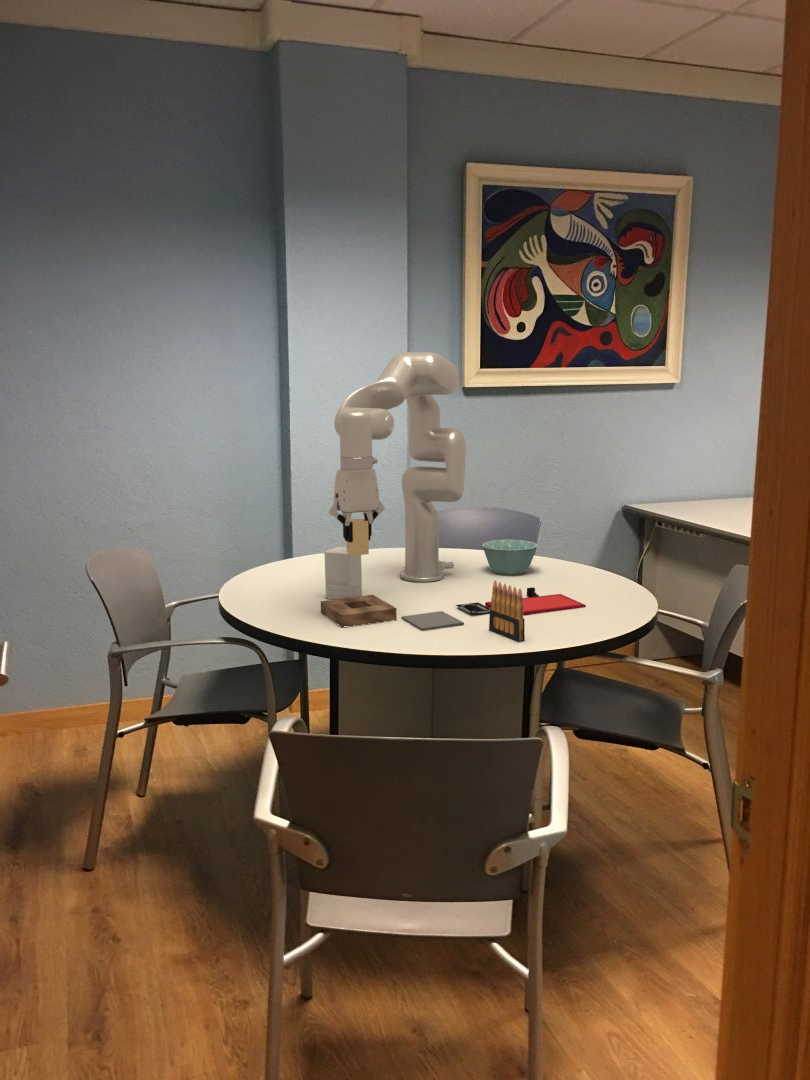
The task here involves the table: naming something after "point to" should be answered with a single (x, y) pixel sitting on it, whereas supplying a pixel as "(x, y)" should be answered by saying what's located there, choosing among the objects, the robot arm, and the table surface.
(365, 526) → the wooden block
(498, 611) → the ammunition clip
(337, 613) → the socket block
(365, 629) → the table surface
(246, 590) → the table surface
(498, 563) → the bowl
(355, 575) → the supplement box
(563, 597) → the red board with handle
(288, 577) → the table surface
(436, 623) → the rubber mat
